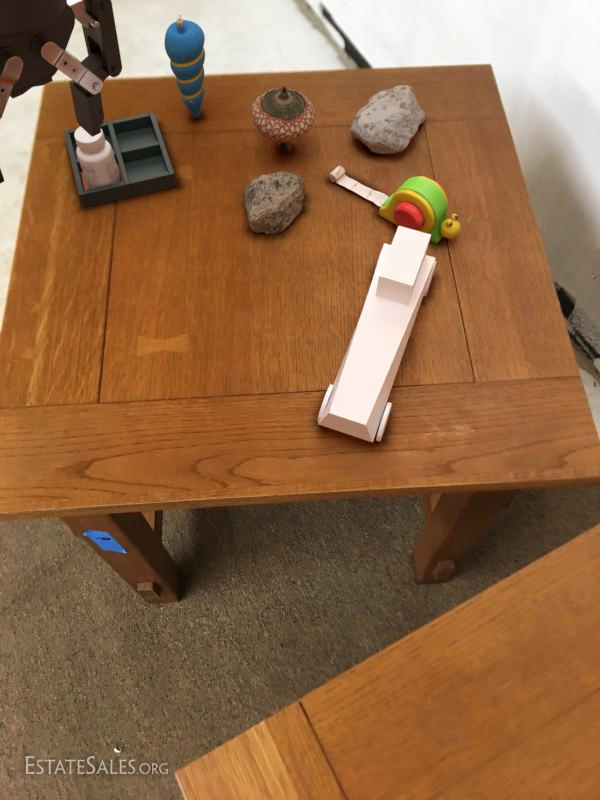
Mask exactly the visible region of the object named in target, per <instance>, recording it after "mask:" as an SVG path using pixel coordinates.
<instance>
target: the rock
mask: <svg viewBox="0 0 600 800" xmlns="http://www.w3.org/2000/svg"><path fill="white" fill-rule="evenodd" d="M304 194H305V192H304V180H303V179H302V177H301V176H299V175H298V174H297V173H292V172H287V171H285V170H282V171H278V172H276V173H274V172H271V173H268V174H260V175H259V176H256V177H254V178H253V179H252V180H250V182H249V183H248V184H246V186H245V187H244V197H245V198H244V209H245V210H246V216H247V220H248V223H249V227H250V229H251V231H253V232H254V233H256V234H257V233H259V234H260V233H264V234H267V235H275V234H276V235H277V234H280V233H282V232H283V231H285V229H286V228H288V227H289V226H290V225H291V223H292V222H293V221H294V220H295V219H296V217H298V215H299V214H300V213H301V212H302V211H303V201H304V198H305V197H304V196H305V195H304Z"/></svg>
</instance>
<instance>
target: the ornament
mask: <svg viewBox="0 0 600 800" xmlns="http://www.w3.org/2000/svg"><path fill="white" fill-rule="evenodd" d="M205 40H206V39H205V33H204V31H203V28H202V27H201V26H200V25H199V24H197V23H196V22H195V21H192V20H188V19H184V18H182V16H181V14H179V16H178V17H177V19H176V21H174V22H172V23H171V24H170V25H169V26H168V27H167V29H166V31H165V35H164V50H165V54H166V55H167V57H168V58H169V60H170V61H169V65H170V69H171V71H172V73H173V74H174V76H175V77H176V86H177V88H178V89H179V91H180V93H181V95H182V102H183V104H184V106H185V107H186V108H187V109H188V110H189V112H190V113H191V115H192V116H193V118H195V119H198V118H199V117H200V116H201V110H202V106H203V102H204V96H205V87H204V80H205V68H204V65H205V61H206V51H205V48H204V46H205V42H206V41H205Z"/></svg>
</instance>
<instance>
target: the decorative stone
mask: <svg viewBox="0 0 600 800" xmlns="http://www.w3.org/2000/svg"><path fill="white" fill-rule="evenodd" d="M426 117H427V116H426V113H425V111H424V110H423V109H422V107H421V105H420V104H419V102H418V100H417V99H416V95H415V90H414V88H413V87H412V86H411V85H408V84H407V85H406V84H405V85H402V84H399V85H396V86H394V87H392V88H390V89H386V90H385V89H384V90H381V91H378V92H376V93H375V94H374V95H373V96H371V97H369V99H367V101H366V104H365V105H364V106H362V107H361V108H359V110H358V111H357V113H356V114H355V117H354V118H353V121H352V122H351V126H350V134H351V135H352V136H353V138H355V139H357V140H359V141H360V142H361V143H362V144H363V145H364V146H365V147H367V148H368V149H369V150H370V152H372V153H376V154H380V155H382V154H383V155H387V154H396V153H401V152H403V151H405V150H406V148H407V147H408V145H409V144H410V142H411V139H412V138H413V137H415V135H416V133H417V132H418V130H419V126H420V125H421V124H423V123H424V122H425V120H426Z"/></svg>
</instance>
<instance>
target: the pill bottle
mask: <svg viewBox="0 0 600 800" xmlns="http://www.w3.org/2000/svg"><path fill="white" fill-rule="evenodd" d="M76 128H77V129H76V131H75V133H74V137H75V140H76V143H77V146H78V147H77V150H76V153H77V157H78V160H79V162H80V165H81V168H82V170H83V173H84V176H85V178H86V181H87V184H88V186H89V187H90V188H91V189H92V188H96V187H101V186H105V185H110V184H114V183H118V182H120V173H119V170H118V167H117V164H116V160H115V157H114V154H113V151H112V148H111V145H110V144H109V142H108V141H106V140H105V136H104V134H103V131H102V129H101V133H99V134H97V135H95V136H93V137H92V136H91V135H90V134H88V133H87V132H86V131H85V130H84V129H83V128H82V127H81V126H80V125H79V126H78V127H76Z"/></svg>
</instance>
